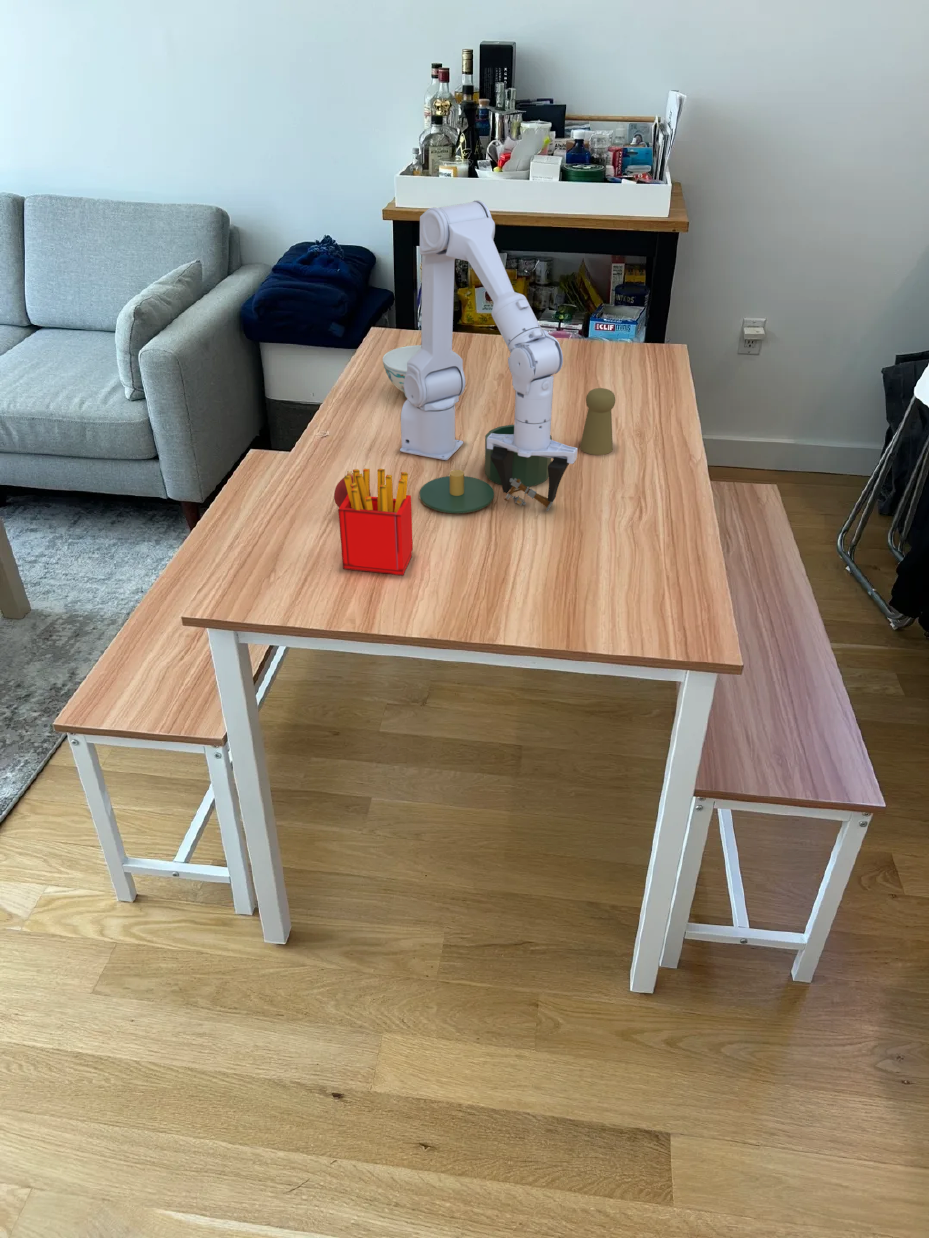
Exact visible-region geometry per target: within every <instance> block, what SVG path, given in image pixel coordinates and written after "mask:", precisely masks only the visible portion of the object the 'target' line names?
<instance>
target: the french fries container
mask: <svg viewBox="0 0 929 1238" xmlns="http://www.w3.org/2000/svg"><path fill="white" fill-rule="evenodd" d="M370 470H371V469H370V468H363V469H362V473H361V471H360V470H359V468H355V469H352V473H353V483H352V479H351V476H350V475H347V474H346V475H344V477H343V478H344V480H345V484H346V488H347V492H348V494H347V496H346V498H345V499H344V501H343V503H342V504H341V506H340V508H339V507H338V509H337V511H338V523H339V537H340V549H341V560H342V569H343V570H351V571H358V572H359V571H360V572H370V573H379V574H390V575H396V576H397V575H399V576H404V575H405V573H406V571H407V568H408V566H409V564H410V562H411V559H412V557H413V556H412V555H413V550H414V549H413V548H414V545H413V518H412V517H413V516H412V515H413V514H412V495H410V494H407V493H408V492H407V491H408V479H409V473H408V472H407V471H401V472H400V478H399V480H398V485H397V490H396V497H395V498H394V487H393V475H392V474H386V469H385V468H378V469H376V471H377V472H376V473H377V474H376V475H377V496H372V495H371V496H370V493H371V489H370V488H371V485H370V484H371V483H370V481H371V478H370V475H371V473H370V472H371V471H370Z"/></svg>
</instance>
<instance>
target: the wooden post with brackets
mask: <svg viewBox="0 0 929 1238" xmlns="http://www.w3.org/2000/svg"><path fill="white" fill-rule="evenodd" d="M509 481H510V482H511V485H513V487H511V489H510V490H509V492H508V493H506V496H505V497H504V501H505V502H508V500H509V499H510V498H512V501H513V500H514V504H518V505H519V506H520V507H521V506H526V501H525V498H522V497H520V495H518V496H516V495H513V494H514V493H517V492H519V491H522V492H523V494H524V495H526V496H527V497H530V498H531V499H532V500H533V499H534V500H536V501H537V502H538V503H540V504H541V505H543V506H544V507H545V508H546V509H545V510H546V511H547V512H548V511H549V510H550V508H551V507H552V505H553V504H554V501H555V499H554V500H553V501H552V502H549V501H548V497H546V496H544V495H541V494H540V493H537V491H535V490H534V489H532V488H530V486H529V487H526V486H525V485H523V484H522V483H521V482H520V479H516V478H515V479H514V480H513V479H512V478H511V479H510V480H509Z"/></svg>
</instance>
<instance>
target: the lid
mask: <svg viewBox="0 0 929 1238" xmlns="http://www.w3.org/2000/svg"><path fill="white" fill-rule="evenodd" d="M494 498H495V490H494V489H493V487H492V485H490V484H489V483H488V482H486V481H485V480H482V479H479V478H478V477H477V478H476V477H473V476H467V475H465V472H464V471H463V470H461V469H453V470H450V472H449V475H447V476H441V477H438V478H435V479H432V480H429V481H427V482H426V483H425V484H423V486H421V488H420V489H419V499H420V501H421V502H422V503H423V504H424V505H425V506H426V507H428V508H429V509H432V510H434V511H437V512H442V513H446V514H467V513H473V512H477V511H480V510H482V509H484V508H486V507H488V506H490V504H491V503H492V502H493V500H494Z"/></svg>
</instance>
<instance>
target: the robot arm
mask: <svg viewBox="0 0 929 1238" xmlns="http://www.w3.org/2000/svg"><path fill="white" fill-rule="evenodd" d="M495 234H496V223H495V221H494V219H493V216H492V214H491V211H490V209H489V207H488V206H487V204H486V203H485V202H484V201H482V200H479V199H478V200H477V199H476V200H473V201H470V202H465V203H459V204H452V205H446V206H445V205H444V206H439V207H435V206H433V207H429V208H428V209H426V210H425V211H424V212H423V213H422V214H421V215H420V216H419V255H420V256H421V319H420V321H421V322H420V323H421V327H420V328H421V329H420V330H421V331H420V333H421V335H420V337H421V338H420V341H421V342H420V345H421V349H420V350H419V351H418V352H417V353H416V354H415V355H414V356H413V357H412V358H411V359H410V360H409V361H408V362H407V373H406V375H405V379H404V391H405V393H404V395H405V394H406V397H407V398H406V397H405V398H406V400H405V401H404V402H403V405H402V407H401V412H400V439H401V440H400V441H401V447H400V448H399V452H400V453H405V454H409V455H416V456H419V457H425V458H430V459H437V460H442V461H449V459H450V458H452V456H453V455H454V454H455V453H456V452H457V451H458V450H459V449H460V448H461V447H462V446H463V444H464V441H463V440H462V439H461V440H460V439H456V404H457V403H458V402H460V400H459V397H461V396H462V395H463V394H464V392H465V390H466V383H467V381H466V375H465V372H464V365H463V364H464V359H463V357H461V356H460V355H459V354H458V353H457V352H455V351H454V350H453V332H454V331H453V328H454V326H453V325H454V321H453V320H454V296H455V295H454V293H455V291H454V289H455V261H456V259H457V260H461V261H465V262H468V263H469V265H470V266H471V268H472V270H473V271H474V273H475V275H476V276H477V279H479V281H480V283H481V284H482V286H483V288H484V290H485V291H486V293H487V294H488V296H489V297H490V299H491V300H492V303H493V305H492V309H491V317H492V319H493V321H494V323H495V325H496V327H497V329H498V331H499V333H500V335H501V337H502V339H503V341H504V343H505V345H506V347H507V349H508V351H509V353H510V354H509V357H507V364H508V369H509V372H510V374H511V379H512V380H511V381H512V382H511V386H512V388H513V390H514V423H513V425H514V434H494V433H491V434H490V435H489V436H488V437H487V449H493V453H492V454H491V456H490V457H491V461H492V462H493V464H494V466H495V467H496V469H497V472H498V474H499V477H500V480H501V484H502V485H501V487H502V492H503V493H504V494H508V492H509V491H510V490H511V488H512V487H511V486H512V485H511V482H510V481H509V480H510V479H511V478H512V464H513V456H514V452H517V453H518V456H522V457H530V456H542V457H547V458H551V459H552V460H551V463H550V464H549V465H548V474H549V477H548V490H547V498H548V501H549V502H552V501H553V500H554V501H555V500H556V497H557V492H558V489H559V485H560V483H561V481H562V478H563V475H564V474H565V472H566V470H567V468H568V467H569V464H570V465H574V463H575V462H576V461H577V459H578V447H574V446H570V445H567V444H564V443H562V442H559V441H557V440H556V441H555V440H553V439H552V440H551V439H550V435H551V429H552V413H553V395H554V381H555V380H554V377H555V376H554V375H556V374H558V373H559V372H560V371H561V370H562V367H563V363H564V355H563V350H562V347H561V345H560V342H559V340H558V339H557V338H556V337H554V336H553V335H551V334H549V332H548V330H546V329H542V326H541V325H540V323H539V320H538V319H537V317H536V315H535V313H534V311H533V309H532V307H531V306H530V303H529V300H528V299H527V297H526V296H525V294H522V293H519V292H516V291H515V290H514V288H513V285H512V283H511V279H510V278H509V275H508V273H507V270H506V268H505V266H504V263H503V260H502V259H501V256H500V254H499V251H498V249H497V246H496V244H495V241H494V240H495V239H494V238H495ZM554 501H553V502H554Z"/></svg>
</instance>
